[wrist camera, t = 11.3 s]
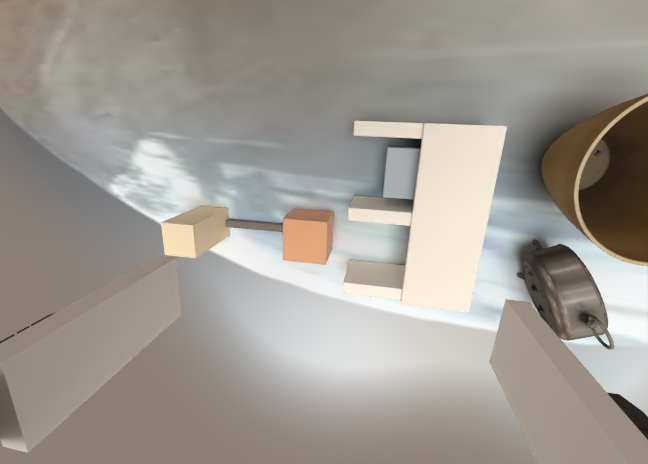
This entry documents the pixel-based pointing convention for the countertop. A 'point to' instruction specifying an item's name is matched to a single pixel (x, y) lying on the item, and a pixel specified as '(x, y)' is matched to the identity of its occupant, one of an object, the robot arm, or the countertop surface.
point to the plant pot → (605, 179)
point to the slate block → (401, 172)
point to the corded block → (213, 226)
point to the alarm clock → (565, 293)
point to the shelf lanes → (433, 215)
